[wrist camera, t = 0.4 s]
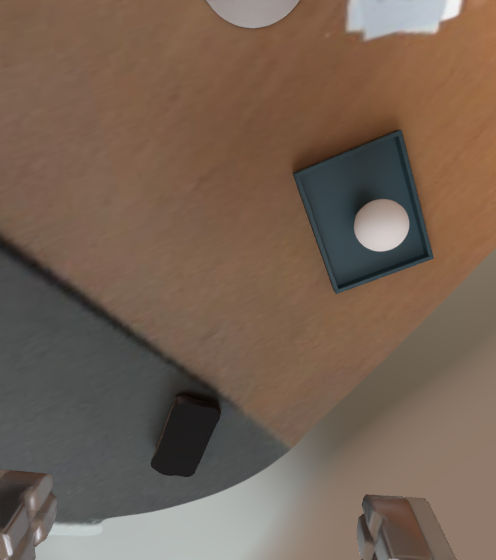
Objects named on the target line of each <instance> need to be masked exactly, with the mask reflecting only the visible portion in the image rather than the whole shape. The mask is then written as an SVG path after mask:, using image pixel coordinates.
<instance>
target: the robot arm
mask: <svg viewBox="0 0 496 560" xmlns="http://www.w3.org/2000/svg"><path fill="white" fill-rule="evenodd" d="M206 1H207V3H208V4H209V5H210V7H211V8H212V9H213V10H214V11H215V12H216V13H217V14H218V15H219V16H220V17H222V18H223V19H225V20H226V21H228V22H230V23H232V24H234V25H237V26H240V27H245V28H261V27H265V26H269V25H271V24H274V23H276V22H278V21H279V20H281V19H282V18H284V17H285V16H286V15H288V14H289V13H290V12H291V11H292V10H293V9H294V7H295V6H296V5H297V4H298V2H299V1H300V0H206ZM53 485H54V482H53V477H52V475H51V474H44V473H34V472H23V471H13V470H0V560H35V558H36V556H35V547H36V546H37V545H38V544H40V543H41V542H42V541H44V540H45V539H46V538H47V536H48V534H49V532H50V530H51V528H52V525H53V522H54V519H55V516H56V510H57V500H56V496H55V495H54V494H53V493H52V492H51V491H50V490H51V488H52V487H53ZM362 507H363V510H364V514H362V515H361V516H360V517H359V519H358V525H357V541H358V547H359V552H360V557H361V560H457V559H456V557H455V555H454V553H453V551H452V549H451V547H450V545H449V543H448V541H447V539H446V537H445V535H444V533H443V531H442V529H441V527H440V525H439V523H438V521H437V519H436V516H435V514H434V512H433V510H432V508H431V506H430V504H429V502H428V501H427V500H426V499H425V498H413V497H403V496H386V495H385V496H384V495H365V497H364V498H363V503H362Z"/></svg>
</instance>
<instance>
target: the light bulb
mask: <svg viewBox="0 0 496 560" xmlns="http://www.w3.org/2000/svg"><path fill="white" fill-rule="evenodd" d="M408 230H409V218H408V215H407V213H406V211H405V209H404V208H403V207H402V206H401V205H399V204H398V203H396V202H395V201H392V200H388V199H378V200H374V201H371V202H369V203H367V204H366V205H365V206H363V207H362V208H361V209H360V210H359V211H358V212H357V213H356V215H355V222H354V232H355V235H356V237H357V239H358V241H359V242H360V243H361V244H362V245H363V246H364V247H366V248H368V249H370V250H373V251H378V252H379V251H388V250H391V249H393V248H395V247H397V246H398V245H399V244H401V243H402V241H403V240H404V239H405V237H406V235H407V233H408Z"/></svg>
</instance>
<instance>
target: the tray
mask: <svg viewBox="0 0 496 560" xmlns="http://www.w3.org/2000/svg"><path fill="white" fill-rule="evenodd" d="M293 176H294V179H295V182H296V184H297V187H298V190H299V193H300V196H301V199H302V201H303V204H304V207H305V210H306V213H307V216H308V219H309V221H310V224H311V227H312V230H313V233H314V236H315V238H316V241H317V244H318V247H319V250H320V253H321V256H322V258H323V261H324V264H325V267H326V270H327V273H328V275H329V278H330V281H331V284H332V287H333V290H334V291H335V293H336V294H337V293H340V292H343V291H346V290H348V289H351V288H354V287H357V286H359V285H362V284H365V283H368V282H370V281H373V280H376V279H379V278H381V277H384V276H387V275H390V274H392V273H395V272H398V271H401V270H403V269H406V268H409V267H412V266H414V265H417V264H420V263H423V262H425V261H428V260H431V259H434V258H433V254H432V250H431V246H430V242H429V238H428V234H427V230H426V226H425V222H424V218H423V214H422V210H421V206H420V202H419V198H418V194H417V190H416V186H415V182H414V178H413V174H412V170H411V166H410V162H409V158H408V154H407V151H406V147H405V143H404V139H403V135H402V130H396V131H394V132H391V133H389V134H387V135H384V136H382V137H379V138H377V139H375V140H372V141H370V142H367V143H365V144H362V145H360V146H358V147H355V148H353V149H350V150H348V151H346V152H343V153H341V154H338V155H336V156H333V157H331V158H329V159H326V160H324V161H321V162H319V163H317V164H314V165H312V166H309V167H307V168H304V169H302V170H300V171H297V172H295V173H293ZM378 199H388V200H392V201H395V202H396V203H398V204H399V205H401V206H402V207H403V208H404V209H405V211H406V213H407V215H408V218H409V230H408V233H407V235H406V237H405V239H404V240H403V241H402V243H401V244H399V245H398V246H397V247H395V248H393V249H391V250H388V251H379V252H378V251H373V250H370V249H368V248H366V247H364V246H363V245H362V244H361V243H360V242H359V241H358V239H357V237H356V235H355V232H354V222H355V215H356V213H357V212H358V211H359V210H360V209H361V208H362V207H363V206H365V205H366V204H367V203H369V202H371V201H374V200H378Z"/></svg>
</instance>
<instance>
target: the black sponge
mask: <svg viewBox="0 0 496 560" xmlns="http://www.w3.org/2000/svg"><path fill="white" fill-rule="evenodd" d="M220 415H221V411H220V408H219V405H218V404H216V403H212V402H208V401H200V400H197V399H195V398H191V397H189V396H187V395H185V396H178V397H176V398H175V400H174V402H173V405H172V408H171V410H170V413H169V415H168V418H167V420H166V423H165V426H164V428H163V431H162V434H161V437H160V439H159V442H158V445H157V448H156V450H155V453H154V456H153V458H152V461H151V466H152V468H154V469H155V470H156V471H158V472H159V473H161V474H164V475H169V476H173V475H177V476H183V477H189V476H192V475H193V474H194V473H195V471H196V469H197V466H198V464H199V462H200V460H201V458H202V455H203V453H204V451H205V449H206V446H207V444H208V442H209V439H210V437H211V435H212V433H213V430H214V428H215V426H216V424H217V422H218V421H219V418H220Z"/></svg>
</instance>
